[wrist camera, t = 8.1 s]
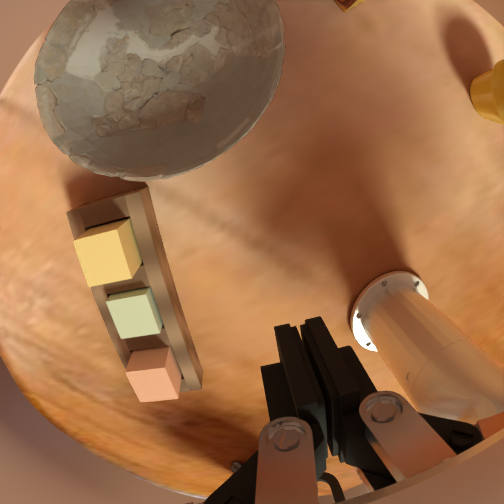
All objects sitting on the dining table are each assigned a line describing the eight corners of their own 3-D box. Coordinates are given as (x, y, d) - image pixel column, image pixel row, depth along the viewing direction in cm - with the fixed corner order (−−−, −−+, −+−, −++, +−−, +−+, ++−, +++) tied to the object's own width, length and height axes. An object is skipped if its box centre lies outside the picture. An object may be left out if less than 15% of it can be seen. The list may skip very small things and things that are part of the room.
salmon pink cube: (182, 372, 40) (178, 398, 35) (147, 377, 40) (140, 402, 35) (170, 342, 38) (164, 367, 33) (133, 347, 38) (124, 372, 33)
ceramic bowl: (307, 46, 31) (334, 17, 22) (196, 208, 36) (187, 231, 27) (151, -33, 26) (134, -74, 16) (47, 120, 31) (0, 117, 21)
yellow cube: (143, 260, 35) (131, 278, 30) (104, 269, 34) (88, 287, 30) (130, 217, 33) (116, 229, 28) (91, 227, 33) (72, 240, 28)
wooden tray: (202, 370, 43) (201, 389, 40) (144, 378, 43) (139, 396, 39) (148, 186, 35) (139, 191, 31) (80, 205, 35) (66, 212, 31)
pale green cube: (166, 312, 40) (160, 333, 35) (130, 318, 39) (121, 339, 35) (154, 276, 38) (146, 294, 33) (118, 283, 38) (105, 301, 33)
